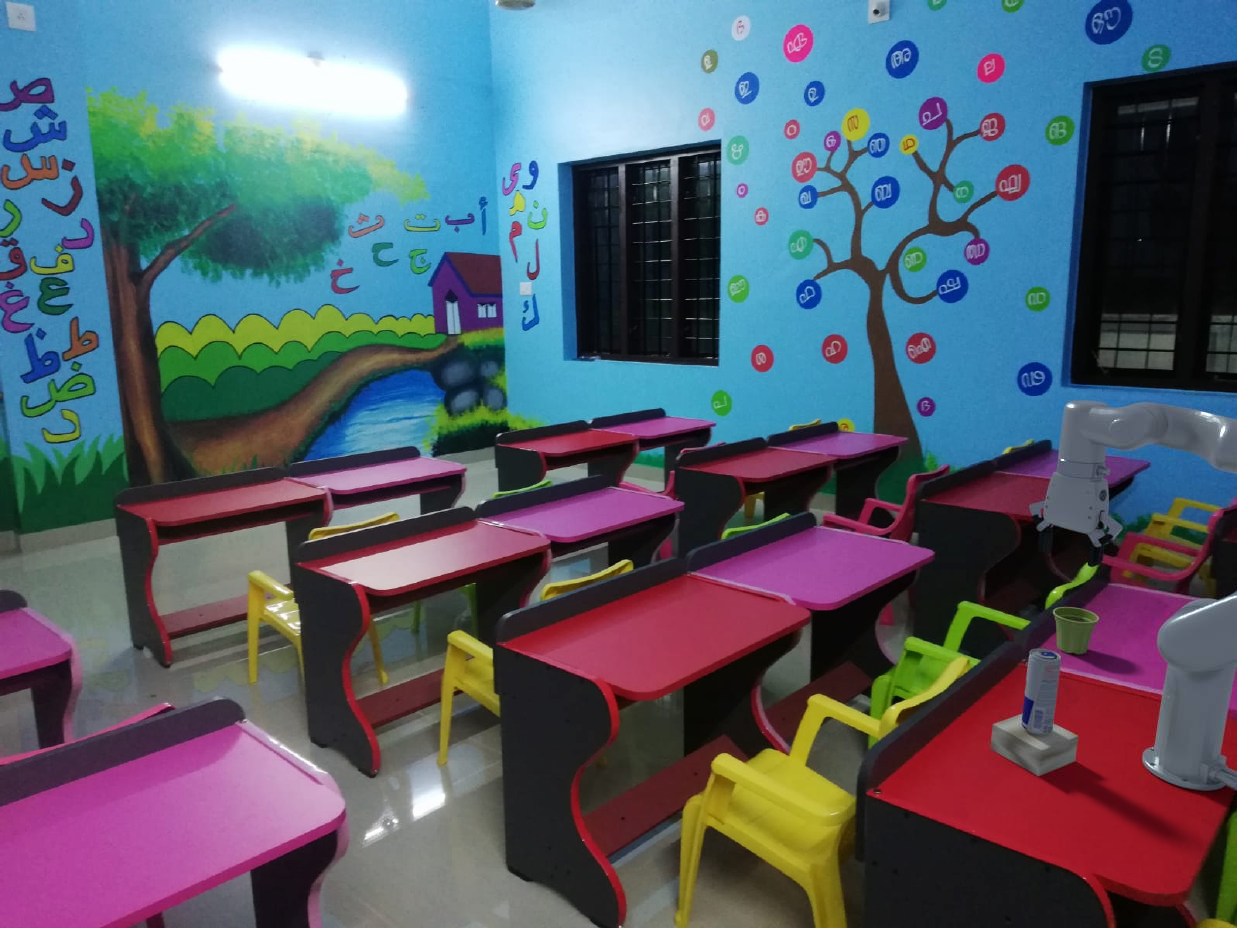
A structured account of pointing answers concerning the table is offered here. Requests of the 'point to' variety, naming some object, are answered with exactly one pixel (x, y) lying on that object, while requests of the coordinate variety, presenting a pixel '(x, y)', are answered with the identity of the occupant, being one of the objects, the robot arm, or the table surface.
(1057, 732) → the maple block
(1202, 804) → the table surface
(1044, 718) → the beverage can
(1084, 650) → the plant pot
